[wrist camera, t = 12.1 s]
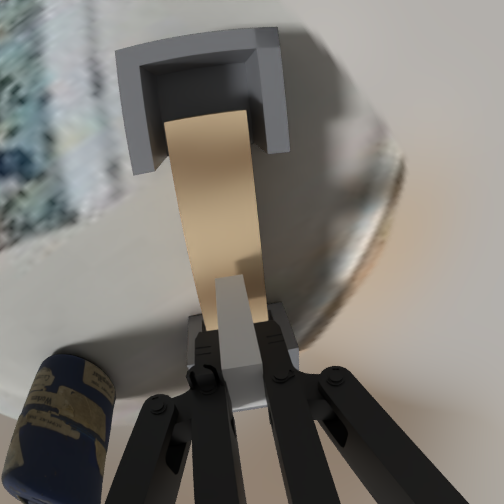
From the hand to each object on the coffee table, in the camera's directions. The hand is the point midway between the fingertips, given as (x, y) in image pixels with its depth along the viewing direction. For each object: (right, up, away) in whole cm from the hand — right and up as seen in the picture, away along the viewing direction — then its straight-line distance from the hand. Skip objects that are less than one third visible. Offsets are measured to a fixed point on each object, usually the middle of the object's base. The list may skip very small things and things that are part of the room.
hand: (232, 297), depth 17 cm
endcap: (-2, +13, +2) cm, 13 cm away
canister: (-18, -12, +12) cm, 25 cm away
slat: (-1, +3, +7) cm, 7 cm away
